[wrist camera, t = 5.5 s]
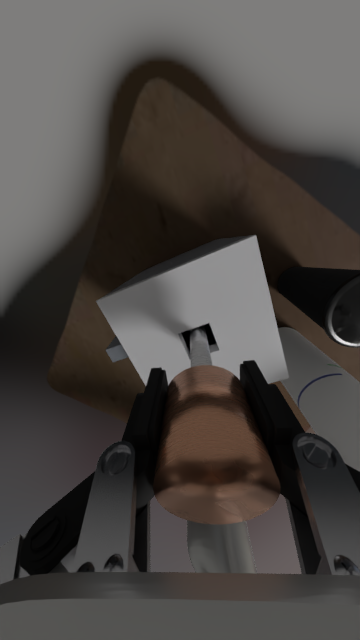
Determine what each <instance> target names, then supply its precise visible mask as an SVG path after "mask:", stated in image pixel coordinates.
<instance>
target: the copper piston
mask: <svg viewBox="0 0 360 640" xmlns="http://www.w3.org/2000/svg"><path fill="white" fill-rule="evenodd" d="M207 324H208V323H207ZM190 355H191V368H188V369H185V370H184V371H182V372H180V373H179V374H177V375H176V376H175V377H174V378H173V379H172V381H171V382H170V384H169V386H168V388H167V393H166V400H165V407H164V414H163V421H162V428H161V435H160V442H159V449H158V456H157V463H156V470H155V477H154V484H153V491H154V495H155V497H156V499H157V501H158V502H159V503H160V505H161V506H162V507H164V508H165V509H166V510H167V511H169V512H170V513H172V514H174V515H176V516H178V517H180V518H183V519H186V520H189V521H192V522H197V523H203V524H232V523H238V522H242V521H246V520H249V519H252V518H255V517H256V516H259V515H261V514H263V513H264V512H266V511H267V510H269V509H270V508H271V507H272V506H273V505H274V504H275V502H276V501H277V499H278V497H279V494H280V483H279V480H278V477H277V474H276V472H275V469H274V466H273V464H272V461H271V459H270V456H269V453H268V451H267V448H266V445H265V443H264V440H263V438H262V435H261V432H260V430H259V427H258V424H257V422H256V419H255V417H254V414H253V411H252V409H251V406H250V403H249V401H248V398H247V396H246V393H245V390H244V388H243V385H242V383H241V382H240V380H239V379H238V378H237V377H236V376H235V375H234V374H233V373H232V372H230V371H228V370H226V369H224V368H221V367H218V366H213V365H212V360H211V355H210V350H209V345H208V340H207V335H206V330H205V325H202V326H199V327H196V328H193V329H190Z"/></svg>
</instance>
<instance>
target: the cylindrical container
mask: <svg viewBox="0 0 360 640" xmlns="http://www.w3.org/2000/svg"><path fill="white" fill-rule="evenodd" d="M278 332H279V336H280V340H281V345H282V349H283V353H284V358H285V362H286V366H287V370H288V375H289V378H287V379H283V380H280V381H281V382H282V384H283V385H284V387H285V388H286V390H287V391H288V393H289V394H290V396H291V397H292V399H293V400H294V402H295V403H296V405H297V406H298V408H299V409H300V411H301V412H302V414H303V415H304V417H305V418H306V420H307V421H308V423H309V424H310V426H311V427H312V429H313V430H314V432H315V433H316V435H318V436H321V437H323V438H324V439H326V440H327V441H329V442H330V443H331V444H332V445H333V446H334V447H335V448H336V449H337V451H338V452H339V454H340V455H341V457H342V459H343V461H344V463H345V464H347V465H349V466H350V467H352V468H354V469H356V470H357V471H359V472H360V382H359V381H357V380H356V379H355V378H354V377H352V376H351V375H350V374H349V373H348V372H346V371H345V370H344V369H343V368H341V367H340V366H339V365H338V364H337V363H335V362H334V361H333V360H332V359H330V358H329V357H328V356H327V355H326V354H324V353H323V352H322V351H321V350H319V349H318V348H317V347H316V346H315V345H313V344H312V343H311V342H310V341H308V340H307V339H306V338H305V337H304V336H302V335H301V334H300V333H299V332H297V331H296V330H294V329H292V328H289V327H281V328H278Z"/></svg>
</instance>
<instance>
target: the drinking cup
mask: <svg viewBox="0 0 360 640" xmlns="http://www.w3.org/2000/svg"><path fill="white" fill-rule="evenodd" d="M278 290H279V292H280V293H281V294H282V295H283V296H284V297H285V298H287V299H288V300H289V301H290V302H291V303H293V304H294V305H295V306H296V307H297V308H299V309H300V310H301V311H302V312H303V313H305V314H306V315H307V316H308V317H310V318H311V319H312V320H313V321H314V322H316V323H317V324H318V325H319V326H320V327H322V328H323V329H324V330H325V332H326V334H327V335H328V337H329V338H331V339H332V340H333V341H335V342H336V343H338V344H340V345H343V346H346V347H360V270H348V269H329V268H310V267H292V268H290V269H288V270H286V271H285V272H284V273H283V274H282V275H281V276H280V278H279V280H278Z"/></svg>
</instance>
